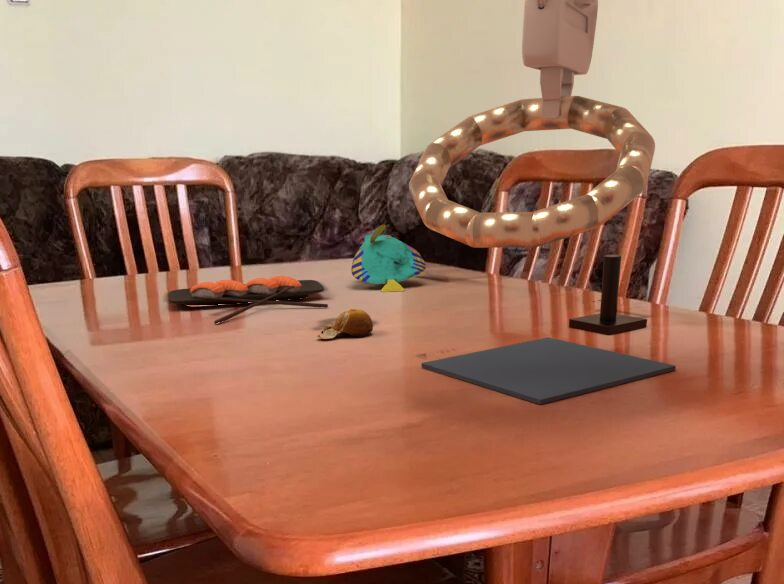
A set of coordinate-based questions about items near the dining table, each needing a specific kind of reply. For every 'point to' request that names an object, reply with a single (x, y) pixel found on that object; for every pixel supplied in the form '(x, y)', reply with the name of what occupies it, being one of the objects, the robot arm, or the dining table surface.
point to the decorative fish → (386, 261)
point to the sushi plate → (248, 293)
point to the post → (609, 305)
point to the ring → (548, 221)
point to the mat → (547, 369)
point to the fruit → (349, 324)
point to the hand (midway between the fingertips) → (555, 119)
